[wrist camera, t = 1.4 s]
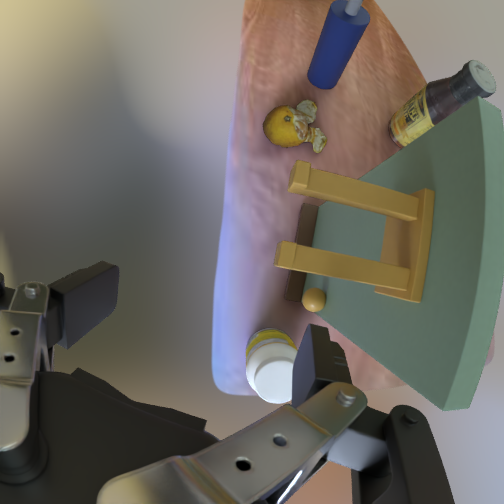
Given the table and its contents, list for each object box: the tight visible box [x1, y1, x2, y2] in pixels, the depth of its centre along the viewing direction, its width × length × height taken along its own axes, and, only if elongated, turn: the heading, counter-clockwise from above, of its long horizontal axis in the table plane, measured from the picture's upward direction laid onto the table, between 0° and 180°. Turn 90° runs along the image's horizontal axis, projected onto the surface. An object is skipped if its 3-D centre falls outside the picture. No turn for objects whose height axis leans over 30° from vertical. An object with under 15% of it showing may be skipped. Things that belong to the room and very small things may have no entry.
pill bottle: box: [246, 328, 298, 403], centre depth 32 cm, size 6×6×11 cm
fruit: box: [263, 100, 327, 153], centre depth 36 cm, size 8×8×4 cm
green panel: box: [274, 96, 504, 411], centre depth 23 cm, size 11×12×30 cm
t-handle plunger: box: [307, 0, 370, 89], centre depth 27 cm, size 8×5×22 cm, turn 169°
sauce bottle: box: [389, 60, 496, 148], centre depth 29 cm, size 7×6×20 cm
